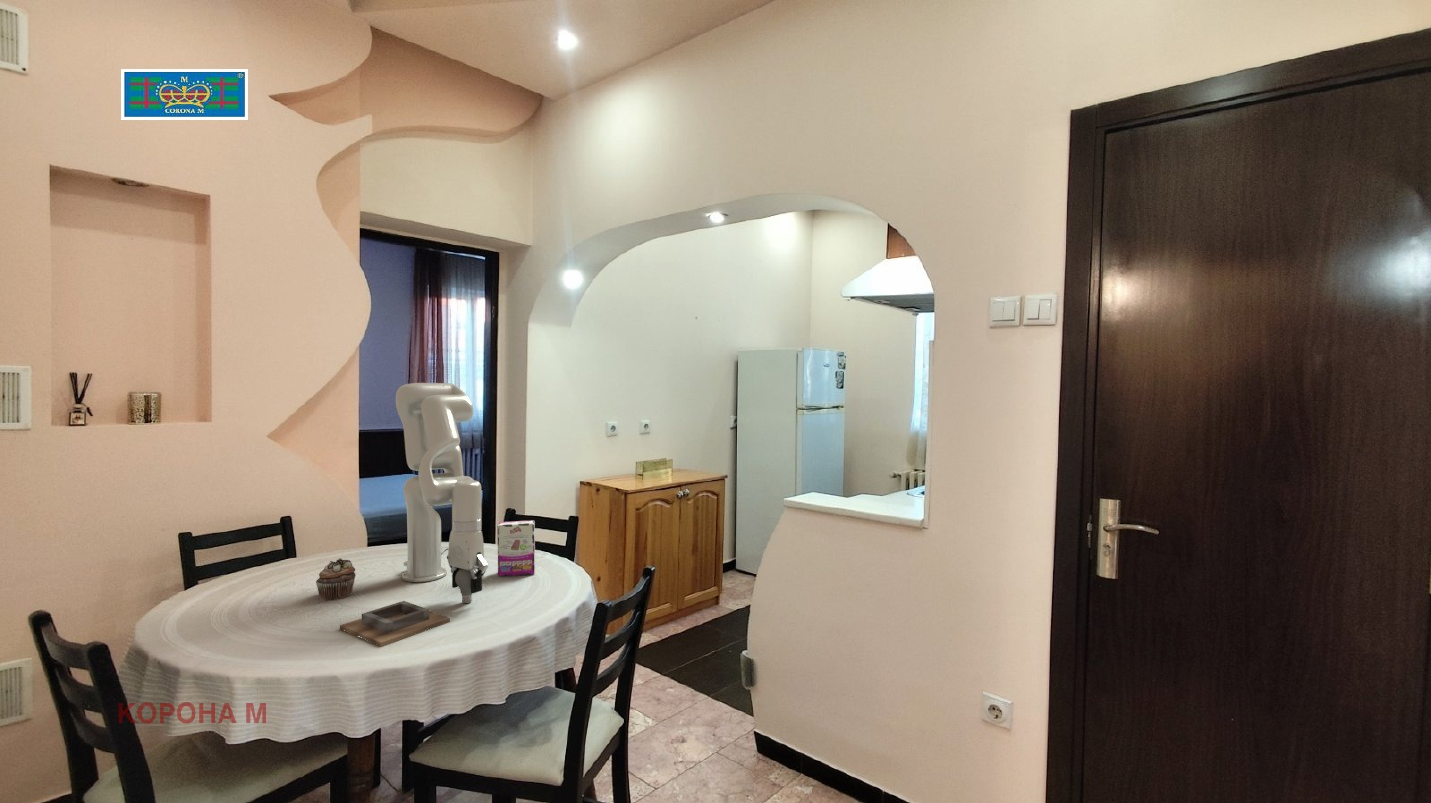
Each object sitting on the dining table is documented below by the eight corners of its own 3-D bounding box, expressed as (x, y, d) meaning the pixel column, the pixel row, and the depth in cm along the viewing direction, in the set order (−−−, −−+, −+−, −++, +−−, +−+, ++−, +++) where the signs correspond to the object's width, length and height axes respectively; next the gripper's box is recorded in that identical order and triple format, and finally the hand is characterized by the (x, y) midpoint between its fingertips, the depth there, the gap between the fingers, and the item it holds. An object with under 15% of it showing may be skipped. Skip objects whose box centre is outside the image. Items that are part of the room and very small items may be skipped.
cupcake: (334, 588, 186) (334, 554, 185) (363, 591, 184) (363, 556, 183) (307, 599, 176) (307, 564, 176) (337, 602, 174) (337, 566, 174)
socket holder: (339, 629, 156) (339, 615, 156) (408, 607, 172) (408, 594, 172) (381, 646, 147) (381, 631, 147) (450, 621, 162) (450, 608, 162)
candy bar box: (535, 570, 205) (535, 519, 205) (534, 574, 201) (534, 523, 200) (498, 572, 203) (498, 521, 202) (497, 577, 198) (497, 524, 197)
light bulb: (483, 600, 178) (483, 565, 177) (468, 607, 172) (468, 571, 172) (465, 597, 180) (465, 562, 179) (450, 604, 174) (450, 568, 173)
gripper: (435, 524, 176) (435, 586, 177) (475, 533, 167) (475, 599, 168) (458, 519, 183) (458, 579, 183) (499, 527, 173) (499, 591, 174)
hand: (467, 588), depth 176 cm, fingers open, 7 cm apart
